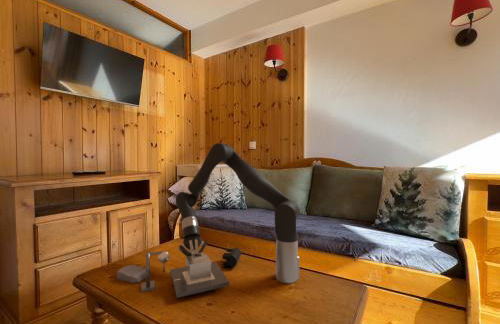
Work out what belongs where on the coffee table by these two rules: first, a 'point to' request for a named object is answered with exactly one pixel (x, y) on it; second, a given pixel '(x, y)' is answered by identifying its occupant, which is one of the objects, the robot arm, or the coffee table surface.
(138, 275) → the stone block
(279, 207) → the robot arm
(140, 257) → the coffee table surface
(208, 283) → the grey flat square slab
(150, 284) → the dial indicator stand
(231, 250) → the end cap
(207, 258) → the cover
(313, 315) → the coffee table surface
